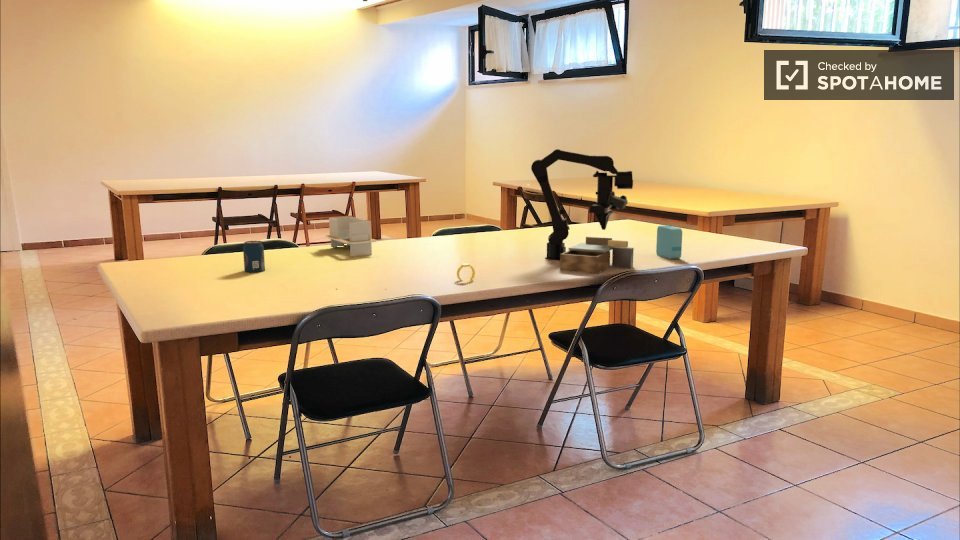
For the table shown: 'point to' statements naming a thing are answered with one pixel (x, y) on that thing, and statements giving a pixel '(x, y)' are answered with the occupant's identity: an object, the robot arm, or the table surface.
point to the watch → (465, 266)
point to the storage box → (584, 261)
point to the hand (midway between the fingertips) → (603, 229)
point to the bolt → (617, 243)
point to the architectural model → (351, 234)
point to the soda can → (253, 257)
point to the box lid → (593, 245)
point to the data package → (669, 242)
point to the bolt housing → (622, 257)
